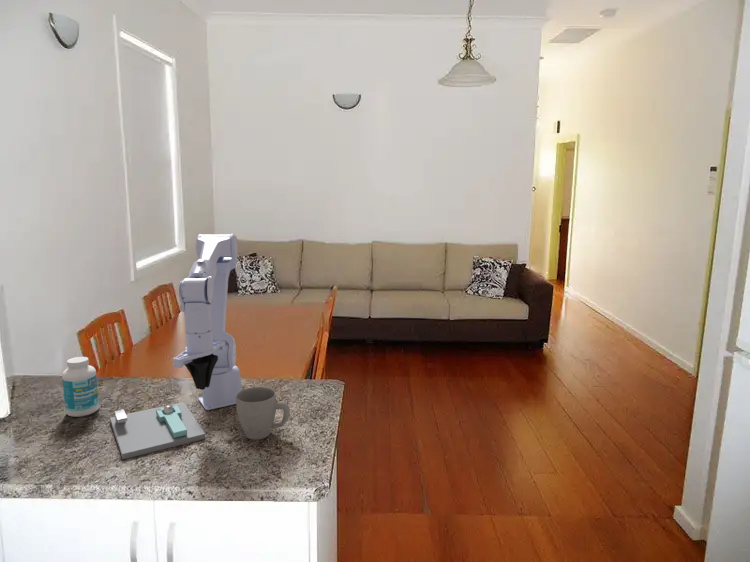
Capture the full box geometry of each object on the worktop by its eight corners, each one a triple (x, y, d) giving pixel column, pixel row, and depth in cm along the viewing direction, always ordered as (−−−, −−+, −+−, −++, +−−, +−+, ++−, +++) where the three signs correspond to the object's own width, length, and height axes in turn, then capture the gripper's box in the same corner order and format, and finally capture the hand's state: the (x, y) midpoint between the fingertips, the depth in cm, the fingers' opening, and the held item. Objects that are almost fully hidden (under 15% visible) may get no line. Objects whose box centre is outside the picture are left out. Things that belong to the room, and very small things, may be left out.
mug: (231, 441, 123) (229, 401, 121) (246, 423, 131) (244, 385, 129) (284, 446, 121) (282, 404, 119) (295, 427, 129) (294, 388, 127)
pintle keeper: (170, 414, 136) (169, 399, 135) (175, 422, 131) (173, 407, 131) (115, 426, 130) (114, 411, 129) (119, 435, 125) (117, 419, 124)
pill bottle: (76, 420, 133) (70, 367, 130) (59, 413, 136) (53, 361, 134) (106, 409, 139) (100, 358, 136) (88, 402, 143) (83, 352, 140)
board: (184, 406, 141) (183, 401, 140) (205, 438, 124) (205, 433, 124) (110, 422, 132) (109, 417, 132) (122, 459, 115) (122, 454, 115)
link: (156, 414, 133) (155, 409, 132) (177, 409, 135) (176, 405, 135) (169, 439, 121) (168, 433, 120) (191, 433, 123) (191, 428, 123)
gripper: (207, 320, 133) (211, 374, 135) (160, 336, 120) (165, 395, 123) (231, 324, 130) (234, 378, 132) (185, 341, 117) (189, 401, 120)
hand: (202, 387), depth 127 cm, fingers closed
